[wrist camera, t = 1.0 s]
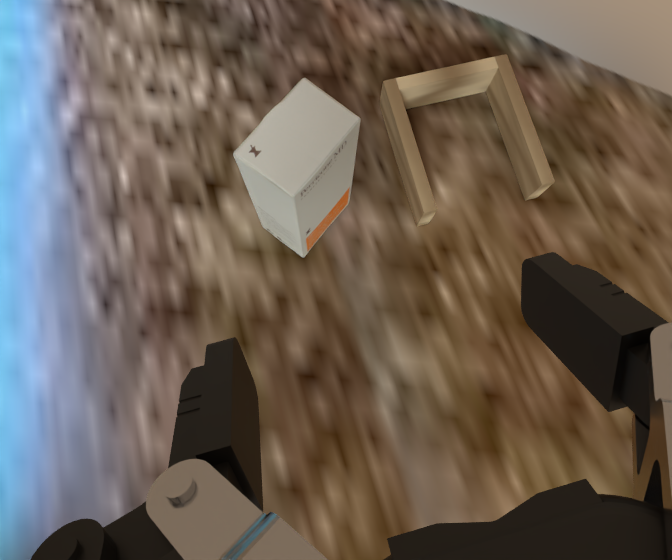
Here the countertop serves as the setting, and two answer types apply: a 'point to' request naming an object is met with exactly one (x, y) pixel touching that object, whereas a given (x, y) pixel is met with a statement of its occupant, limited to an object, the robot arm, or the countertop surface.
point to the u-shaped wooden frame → (454, 84)
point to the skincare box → (300, 165)
